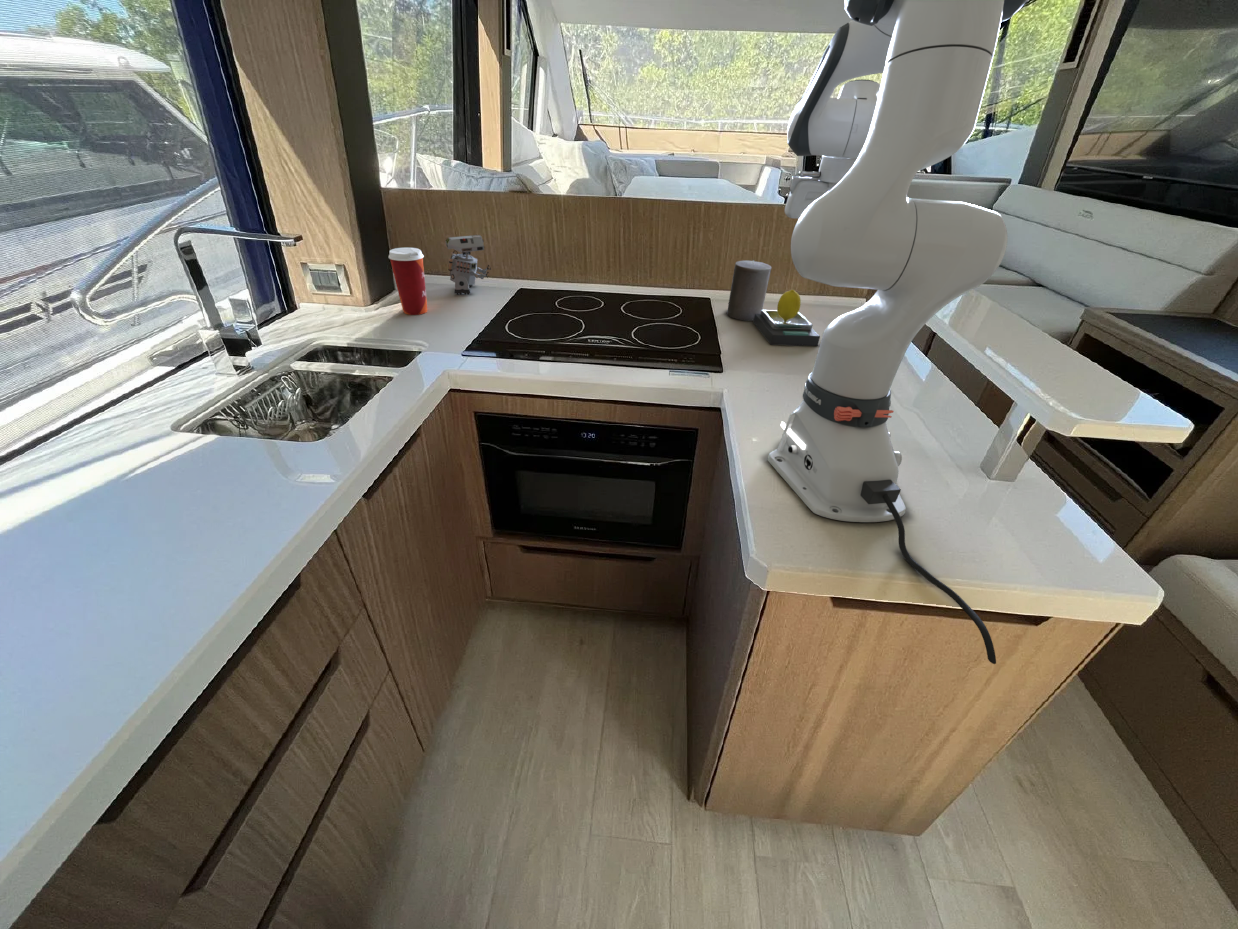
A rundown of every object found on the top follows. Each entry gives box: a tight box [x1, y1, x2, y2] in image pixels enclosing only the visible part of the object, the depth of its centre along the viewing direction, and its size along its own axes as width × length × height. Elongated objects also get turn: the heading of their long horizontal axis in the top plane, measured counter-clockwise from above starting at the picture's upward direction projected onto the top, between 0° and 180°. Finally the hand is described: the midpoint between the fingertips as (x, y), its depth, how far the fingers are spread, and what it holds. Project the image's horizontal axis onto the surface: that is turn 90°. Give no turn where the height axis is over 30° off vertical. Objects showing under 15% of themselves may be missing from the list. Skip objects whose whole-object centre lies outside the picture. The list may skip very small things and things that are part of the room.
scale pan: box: [760, 309, 814, 331], centre depth 135 cm, size 11×10×2 cm
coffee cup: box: [388, 247, 428, 316], centre depth 132 cm, size 8×8×15 cm
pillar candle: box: [726, 259, 772, 322], centre depth 143 cm, size 10×10×15 cm
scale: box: [752, 314, 821, 347], centre depth 136 cm, size 16×12×3 cm
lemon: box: [776, 289, 802, 321], centre depth 133 cm, size 6×6×8 cm
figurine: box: [445, 234, 492, 296], centre depth 150 cm, size 9×12×15 cm
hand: (822, 240), depth 121 cm, fingers open, 8 cm apart
